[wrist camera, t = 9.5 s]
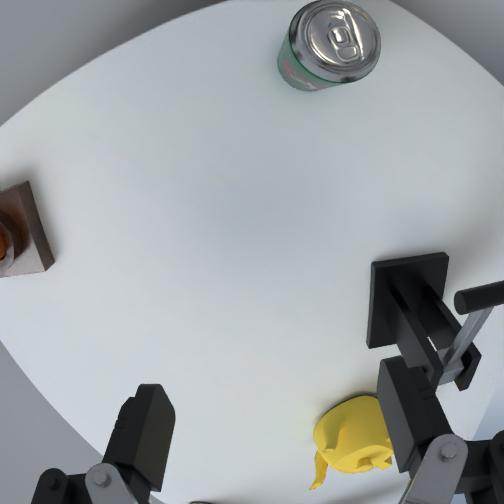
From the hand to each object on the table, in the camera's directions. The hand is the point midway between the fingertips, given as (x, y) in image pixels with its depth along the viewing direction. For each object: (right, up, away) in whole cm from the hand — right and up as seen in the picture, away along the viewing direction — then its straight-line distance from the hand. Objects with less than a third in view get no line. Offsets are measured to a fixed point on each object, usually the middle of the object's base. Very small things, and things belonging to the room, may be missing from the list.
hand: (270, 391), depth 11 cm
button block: (-29, +8, +20) cm, 36 cm away
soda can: (+4, +21, +13) cm, 25 cm away
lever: (+16, -1, +11) cm, 19 cm away
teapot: (+14, -20, +32) cm, 40 cm away
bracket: (+17, 0, +23) cm, 28 cm away
